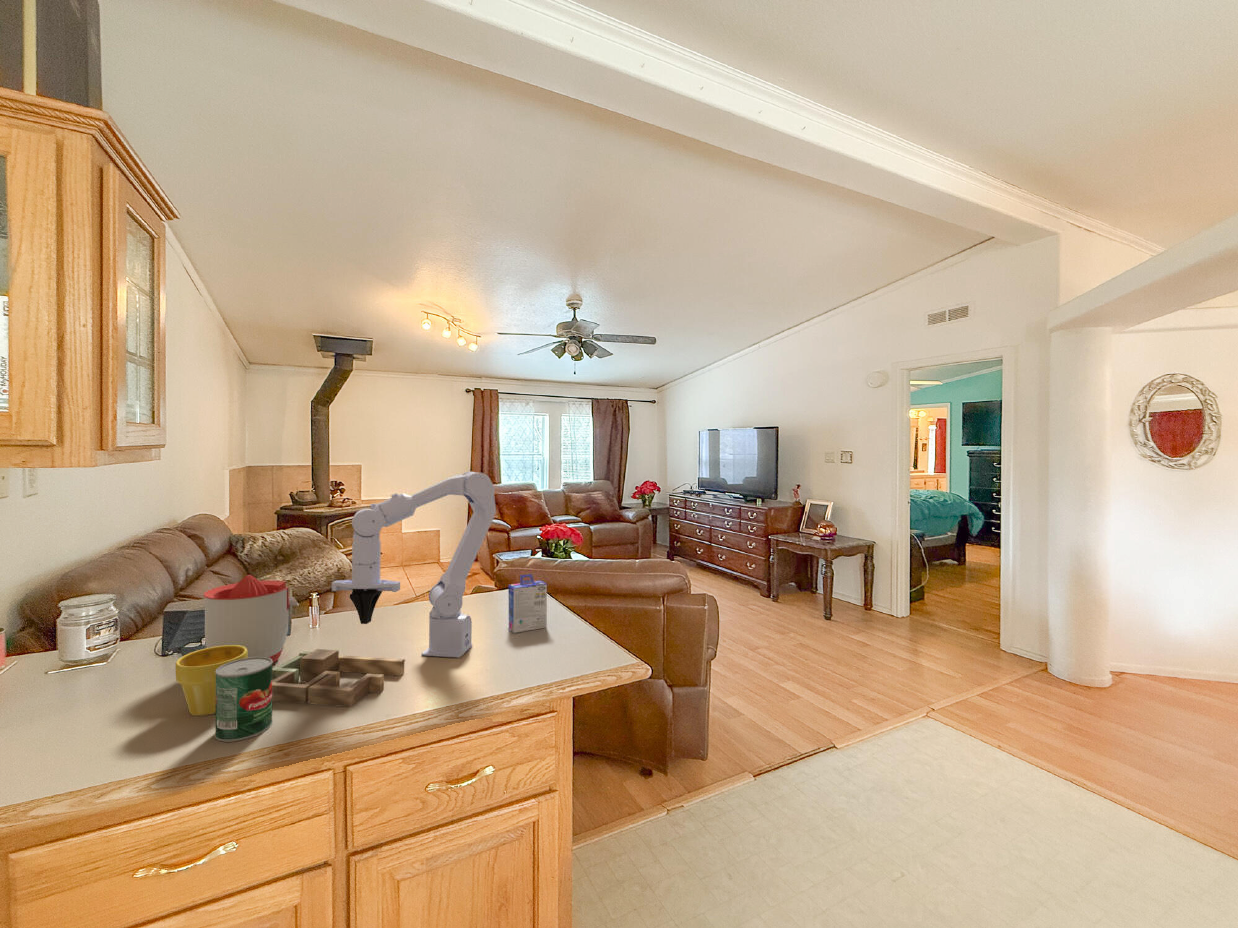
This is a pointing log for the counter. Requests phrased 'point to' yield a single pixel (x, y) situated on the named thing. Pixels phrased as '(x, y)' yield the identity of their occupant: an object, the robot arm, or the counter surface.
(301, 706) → the counter surface
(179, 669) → the plant pot
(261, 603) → the citrus juicer
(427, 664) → the counter surface
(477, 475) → the robot arm
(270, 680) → the canned tomato
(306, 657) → the walnut block
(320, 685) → the trap lane
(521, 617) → the ink cartridge box
